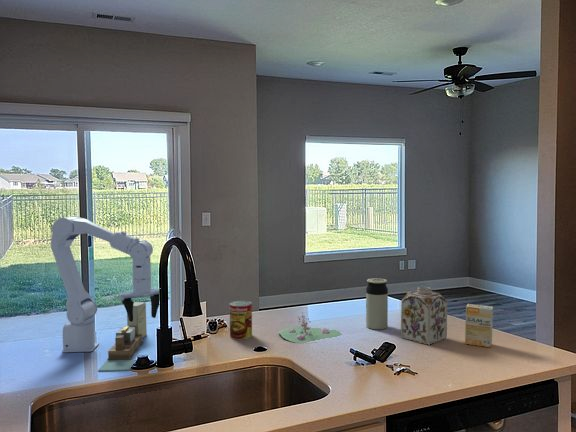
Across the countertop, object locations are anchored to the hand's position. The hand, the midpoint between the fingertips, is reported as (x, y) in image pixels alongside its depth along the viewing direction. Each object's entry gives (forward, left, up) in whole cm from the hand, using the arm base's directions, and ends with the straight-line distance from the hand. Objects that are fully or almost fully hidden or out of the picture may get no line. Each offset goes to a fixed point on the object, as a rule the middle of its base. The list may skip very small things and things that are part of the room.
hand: (142, 319), depth 162 cm
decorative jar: (+96, +3, -10) cm, 97 cm away
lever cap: (-5, -2, -7) cm, 9 cm away
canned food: (+32, +11, -10) cm, 35 cm away
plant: (+58, +11, -11) cm, 60 cm away
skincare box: (-5, +13, -10) cm, 18 cm away
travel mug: (+83, +18, -10) cm, 86 cm away
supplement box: (+112, -5, -10) cm, 113 cm away
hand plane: (-5, -2, -10) cm, 11 cm away
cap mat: (-4, -15, -10) cm, 19 cm away
